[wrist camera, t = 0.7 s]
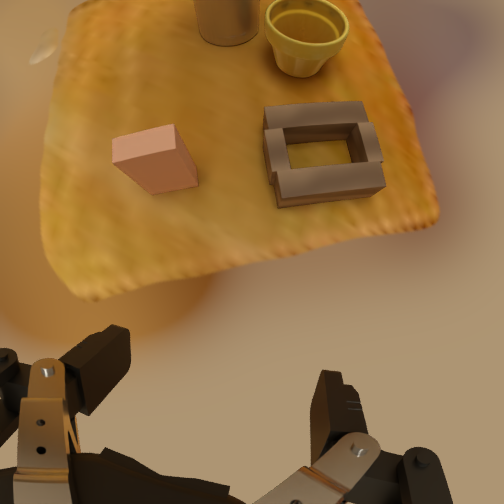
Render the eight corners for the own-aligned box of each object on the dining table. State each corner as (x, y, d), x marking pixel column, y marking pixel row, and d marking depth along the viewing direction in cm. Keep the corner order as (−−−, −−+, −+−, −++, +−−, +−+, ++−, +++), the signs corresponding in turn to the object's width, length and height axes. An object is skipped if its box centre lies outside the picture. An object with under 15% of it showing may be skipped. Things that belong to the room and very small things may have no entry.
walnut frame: (259, 126, 37) (259, 107, 32) (354, 119, 38) (365, 101, 33) (273, 209, 37) (277, 199, 32) (374, 196, 37) (390, 185, 32)
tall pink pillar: (150, 176, 37) (112, 138, 25) (196, 167, 37) (173, 123, 25) (151, 194, 37) (112, 163, 25) (198, 186, 37) (175, 148, 25)
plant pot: (333, 94, 38) (352, 52, 28) (259, 84, 38) (260, 38, 28) (332, 44, 39) (347, 1, 29) (266, 34, 39) (268, -11, 29)
